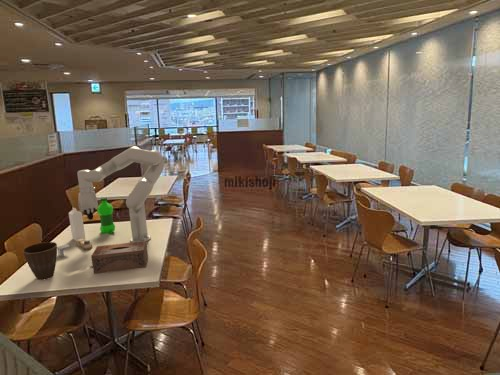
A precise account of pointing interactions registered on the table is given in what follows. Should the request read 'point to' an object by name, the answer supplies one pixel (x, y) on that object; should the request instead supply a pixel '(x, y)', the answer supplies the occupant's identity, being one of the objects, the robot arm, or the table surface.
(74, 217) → the milk
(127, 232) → the table surface
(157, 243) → the table surface
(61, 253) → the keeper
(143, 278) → the table surface
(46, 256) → the plant pot
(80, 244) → the link
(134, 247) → the tissue box cover
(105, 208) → the plastic bottle
